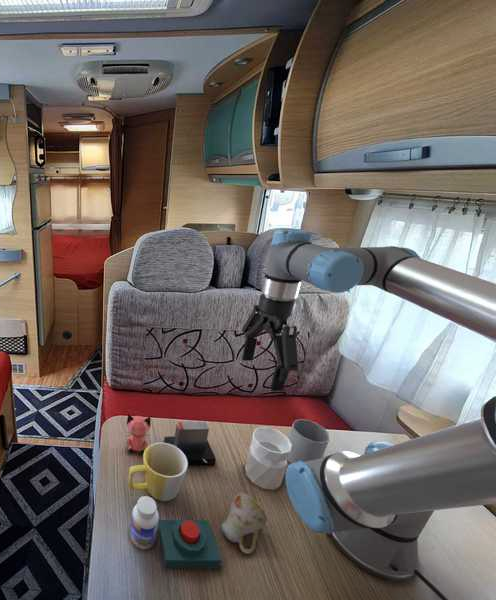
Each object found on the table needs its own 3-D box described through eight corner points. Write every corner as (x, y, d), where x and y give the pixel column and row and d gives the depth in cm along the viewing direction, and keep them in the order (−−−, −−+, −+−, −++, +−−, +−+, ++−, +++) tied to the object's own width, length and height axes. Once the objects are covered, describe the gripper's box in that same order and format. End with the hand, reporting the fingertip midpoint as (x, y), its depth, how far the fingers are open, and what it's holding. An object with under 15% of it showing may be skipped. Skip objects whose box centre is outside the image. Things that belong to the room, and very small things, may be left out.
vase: (287, 479, 84) (299, 443, 80) (269, 496, 80) (280, 459, 75) (255, 456, 91) (264, 422, 87) (237, 471, 86) (245, 435, 82)
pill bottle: (126, 542, 69) (129, 511, 65) (134, 519, 74) (137, 488, 70) (152, 554, 67) (156, 522, 63) (158, 530, 72) (162, 498, 68)
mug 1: (177, 473, 85) (182, 442, 81) (187, 510, 76) (192, 478, 72) (125, 471, 85) (127, 440, 82) (128, 509, 76) (130, 476, 72)
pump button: (195, 525, 69) (196, 520, 68) (200, 543, 66) (201, 538, 65) (178, 525, 69) (179, 520, 68) (182, 543, 66) (183, 538, 65)
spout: (201, 443, 92) (205, 421, 89) (205, 450, 89) (209, 428, 86) (173, 443, 91) (176, 421, 88) (176, 451, 89) (179, 428, 86)
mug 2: (209, 531, 72) (221, 486, 72) (236, 529, 77) (247, 486, 77) (239, 557, 65) (252, 507, 66) (266, 553, 70) (278, 506, 71)
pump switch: (206, 526, 72) (209, 514, 71) (219, 567, 65) (223, 554, 64) (157, 526, 72) (159, 514, 71) (164, 567, 65) (166, 554, 63)
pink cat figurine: (123, 456, 90) (125, 422, 85) (124, 438, 96) (126, 405, 92) (149, 460, 89) (152, 425, 85) (148, 441, 95) (152, 408, 91)
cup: (326, 472, 86) (337, 443, 83) (294, 471, 87) (304, 442, 83) (307, 447, 94) (316, 419, 91) (278, 446, 94) (286, 418, 91)
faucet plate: (202, 439, 96) (204, 432, 95) (216, 470, 86) (218, 462, 85) (162, 439, 96) (163, 432, 95) (171, 470, 86) (172, 463, 85)
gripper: (333, 317, 65) (307, 404, 73) (264, 280, 88) (249, 349, 96) (298, 318, 64) (275, 406, 72) (237, 280, 88) (225, 349, 95)
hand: (260, 373), depth 84 cm, fingers open, 13 cm apart
